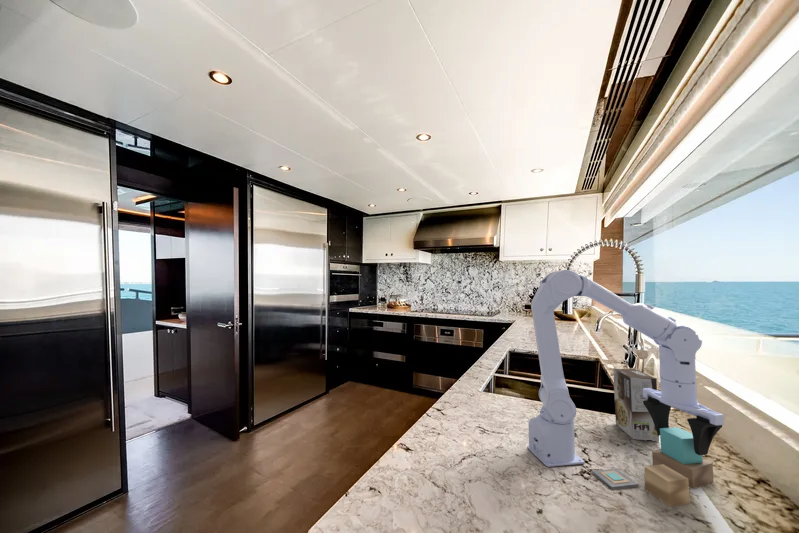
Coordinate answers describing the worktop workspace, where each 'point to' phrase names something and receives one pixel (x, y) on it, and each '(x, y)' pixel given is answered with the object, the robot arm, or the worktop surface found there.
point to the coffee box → (633, 403)
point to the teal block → (679, 445)
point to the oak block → (667, 485)
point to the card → (615, 479)
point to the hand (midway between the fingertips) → (680, 443)
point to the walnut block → (686, 469)
